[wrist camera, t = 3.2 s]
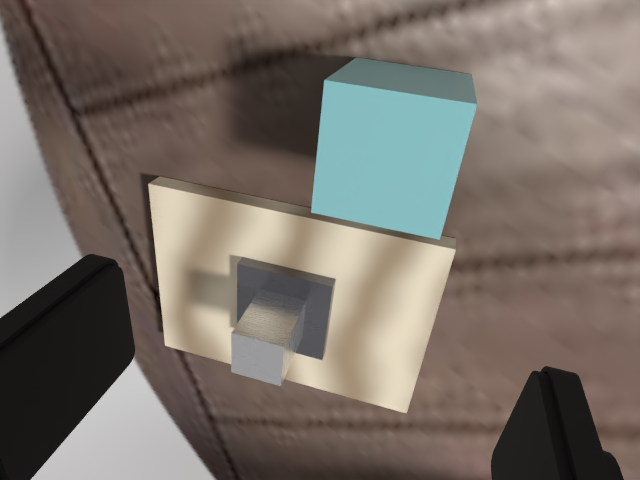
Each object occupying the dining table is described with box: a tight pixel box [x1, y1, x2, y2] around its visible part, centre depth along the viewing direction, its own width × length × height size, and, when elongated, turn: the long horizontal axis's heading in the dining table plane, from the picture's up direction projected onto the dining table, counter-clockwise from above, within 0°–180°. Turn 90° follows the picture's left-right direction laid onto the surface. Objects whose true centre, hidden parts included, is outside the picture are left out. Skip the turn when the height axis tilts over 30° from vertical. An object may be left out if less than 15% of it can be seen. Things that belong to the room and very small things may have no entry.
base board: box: [148, 176, 456, 413], centre depth 35 cm, size 22×16×2 cm
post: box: [231, 257, 336, 386], centre depth 33 cm, size 7×7×8 cm
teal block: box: [311, 57, 477, 240], centre depth 24 cm, size 7×7×8 cm
